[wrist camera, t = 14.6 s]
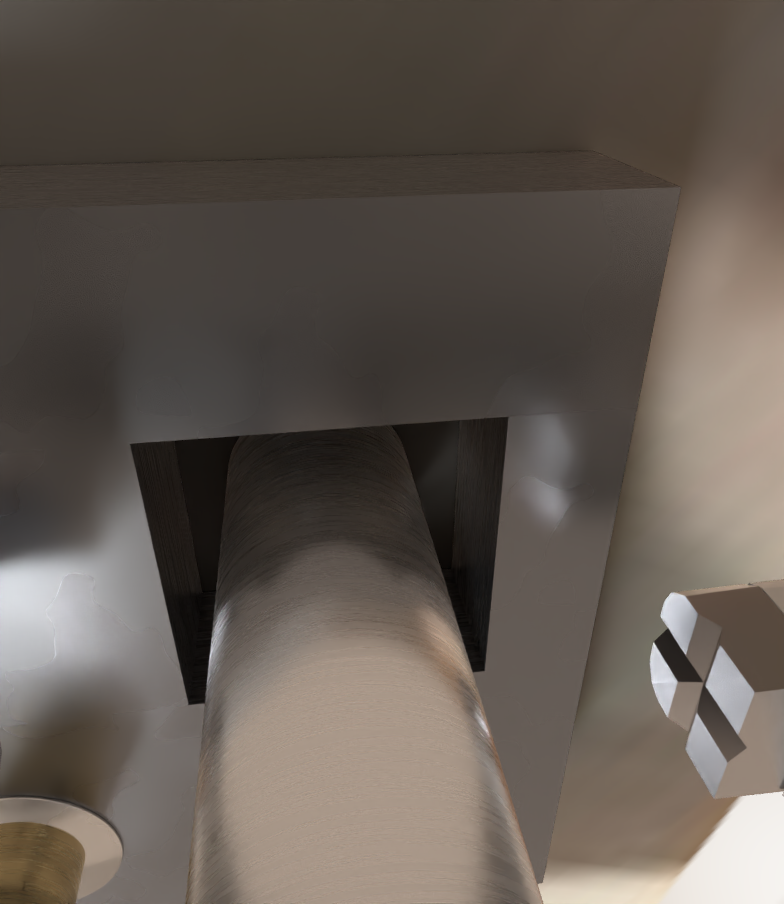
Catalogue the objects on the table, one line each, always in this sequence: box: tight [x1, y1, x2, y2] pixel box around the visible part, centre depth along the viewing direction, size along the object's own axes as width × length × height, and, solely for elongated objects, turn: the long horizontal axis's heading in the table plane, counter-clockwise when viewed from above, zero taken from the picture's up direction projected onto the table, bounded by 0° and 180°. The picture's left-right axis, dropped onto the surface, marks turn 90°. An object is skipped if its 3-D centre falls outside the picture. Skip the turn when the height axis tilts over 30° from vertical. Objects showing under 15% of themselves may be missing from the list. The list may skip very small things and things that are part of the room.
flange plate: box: [0, 151, 681, 904], centre depth 10 cm, size 14×12×6 cm
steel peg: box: [185, 425, 543, 904], centre depth 9 cm, size 3×3×8 cm
